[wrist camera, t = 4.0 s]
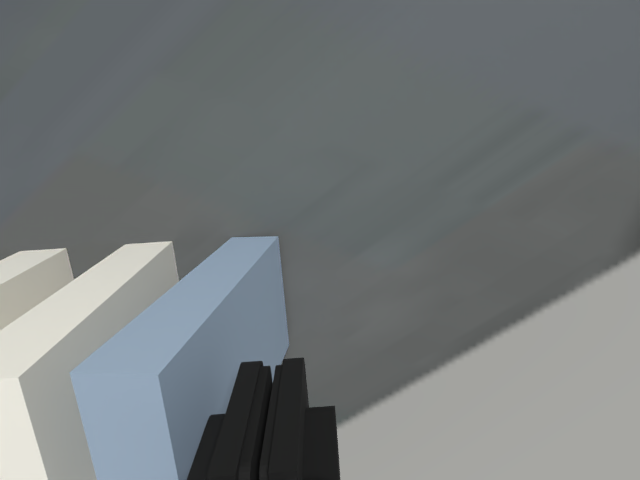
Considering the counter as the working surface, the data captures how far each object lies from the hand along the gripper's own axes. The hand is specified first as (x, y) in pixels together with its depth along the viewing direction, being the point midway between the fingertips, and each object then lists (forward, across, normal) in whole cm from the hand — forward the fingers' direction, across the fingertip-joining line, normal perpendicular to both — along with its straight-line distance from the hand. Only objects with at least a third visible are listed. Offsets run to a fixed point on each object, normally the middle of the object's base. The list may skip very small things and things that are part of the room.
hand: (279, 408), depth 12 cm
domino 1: (+8, +1, 0) cm, 8 cm away
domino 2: (+8, +6, 0) cm, 10 cm away
